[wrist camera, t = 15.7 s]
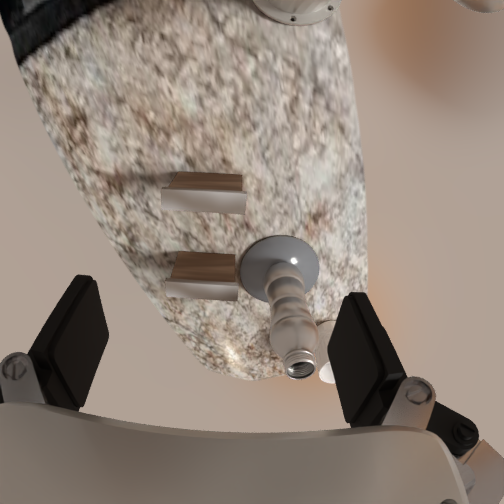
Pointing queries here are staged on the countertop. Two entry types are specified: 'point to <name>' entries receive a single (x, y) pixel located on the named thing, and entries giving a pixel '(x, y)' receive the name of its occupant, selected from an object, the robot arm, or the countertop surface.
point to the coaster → (273, 253)
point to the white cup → (324, 351)
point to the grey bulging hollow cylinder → (291, 320)
